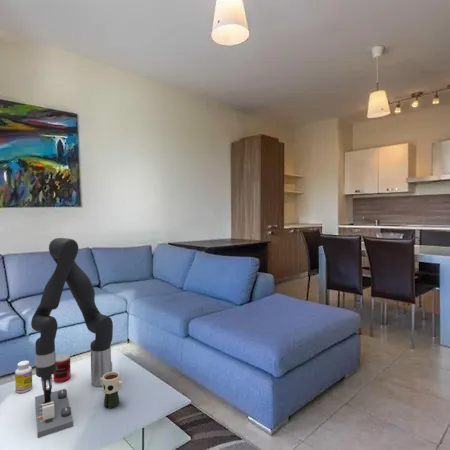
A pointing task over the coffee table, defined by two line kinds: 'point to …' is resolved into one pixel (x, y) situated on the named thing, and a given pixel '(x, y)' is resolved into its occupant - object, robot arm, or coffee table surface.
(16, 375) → the supplement bottle
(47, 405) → the fader cap
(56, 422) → the console board
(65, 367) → the canned food
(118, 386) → the character mug
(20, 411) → the coffee table surface
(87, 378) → the coffee table surface
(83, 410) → the coffee table surface
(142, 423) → the coffee table surface
